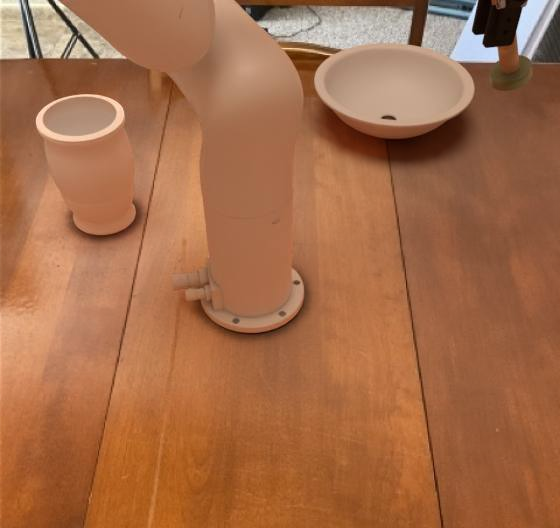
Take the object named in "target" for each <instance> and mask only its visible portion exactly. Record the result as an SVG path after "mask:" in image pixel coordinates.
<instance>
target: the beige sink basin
mask: <svg viewBox="0 0 560 528" xmlns="http://www.w3.org/2000/svg"><path fill="white" fill-rule="evenodd" d="M313 86H314V90H315V92H316V94H317V96H318V98H319V99H320V100H321V101H322V103H324V105H326V107H327V108H329V109H331V110H332V111H333V113H334V114H335V115H336V116H337V117H338V118H339V119H340V120H341V121H342V122H344V124H346V125H347V126H349V127H350V128H352V129H353V130H355V131H358V132H360V133H362V134H364V135H368V136H371V137H375V138H380V139H387V140H388V139H389V140H401V139H402V140H403V139H410V138H415V137H418V136H422V135H424V134H428V133H429V132H432V131H434V130H435V129H437V128H439V127H440V126H442V125H443V124H444V123H446V122H447V121H449V120H451V119H453V118H455V117H457V116H459V115H460V114H461V113H463V112H464V111H465V110H466V109H467V108H468V107H469V106H470V105H471V103H472V101H473V99H474V96H475V82H474V80H473V77H472V75H471V74H470V73H469V71H468V70H467V69H466V68H465V67H464V66H463V65H462V64H461V63H460V62H458V61H457V60H455V59H453V58H452V57H450V56H447V55H445V54H444V53H441V52H439V51H437V50H433V49H431V48H427V47H422V46H418V45H413V44H407V43H398V42H397V43H396V42H378V43H377V42H376V43H368V44H367V43H366V44H361V45H357V46H356V45H355V46H352V47H348V48H346V49H343V50H340V51H338V52H336V53H334V54H332V55H330V56H329V57H328V58H326V59H325V60H323V61H322V63H321V64H319V66H318V67H317V69H316V71H315V73H314V78H313ZM384 117H392V118H394V119H386V118H384Z"/></svg>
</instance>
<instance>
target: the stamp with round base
mask: <svg viewBox="0 0 560 528" xmlns="http://www.w3.org/2000/svg"><path fill="white" fill-rule="evenodd" d="M491 1H492V5H496V0H491ZM496 48H497V55H498V60H497V61H496V62H495V63H493V64H492V66H491V67H490V68H489V72H488V76H489V77H488V78H489V83H490V85H491V88H493V89H495V90H497V91H502V92H509V91H515V90H517V89H519V88H521V87H523V86H524V85H526V84H527V83H528V82H529V81H530V80H531V78H532V76H533V66H532V65H533V63H532V61H531V59H530V58H529V57H527V56H525V55H521V54H520V53H519V46H518V36H517V33H516V35H515V38H514V42H513V43H512V44H511V45H509V46H501V47H496Z"/></svg>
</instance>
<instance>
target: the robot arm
mask: <svg viewBox="0 0 560 528" xmlns="http://www.w3.org/2000/svg"><path fill="white" fill-rule="evenodd" d="M57 2H59V3H61V4H62V5H63V6H64V7H65V8H67V9H68V10H69V11H70V12H72V13H73V14H74V15H75V16H76V17H78V18H79V19H80V20H81V21H82V22H84V23H85V24H86V25H88V26H89V28H91V29H92V30H94V31H95V32H96V33H97V34H98V35H100V37H102V38H103V39H104V40H105V41H106V42H107V43H108V44H109V45H110V46H111V47H112V48H113V49H115V50H116V51H117V52H118V53H119V54H120V55H121V56H123V57H124V58H126V59H127V60H129V61H131V62H132V63H134V64H135V65H138V66H140V67H142V68H145V69H147V70H151V71H155V72H158V73H165V74H167V76H168V77H169V78H170V79H171V80H172V81H173V82H174V84H175V85H176V86H177V88H178V89H179V90H180V92H181V93H182V95H183V96H184V98H185V99H186V101H187V103H188V104H189V105H190V107H191V108H192V110H193V111H194V112H195V114H196V117H197V119H198V122H199V125H200V130H201V145H200V146H201V147H200V153H199V161H198V162H199V169H198V170H199V181H200V182H199V183H200V191H201V197H202V206H203V215H204V224H205V225H204V226H205V232H206V233H205V234H206V242H207V250H208V251H207V253H208V257H206V258H205V259H204V261H205V266H204V267H198V268H197V271H194V272H193V271H192V272H179V273H173V274H171V279H172V280H171V281H172V285H173V286H172V287H173V291H181V290H184V295H185V301H186V302H194V301H197V300H200V302H201V306H202V309H203V311H204V312H205V314H206V315H207V316H208V317H209V318H210V320H211V321H213V322H214V323H215V324H217V325H218V326H220V327H223V328H225V329H226V330H231V331H232V332H233V331H234V332H236V333H237V332H238V333H243V334H244V333H246V334H248V333H249V334H253V333H254V334H256V333H263V332H264V333H265V332H269V331H271V330H276V329H278V328H280V327H282V326H284V325H286V324H287V323H289V322H291V320H292V319H294V318H295V316H296V315H297V314H298V313H299V312H300V310H301V308H302V306H303V303H304V299H305V286H304V282H303V279H302V277H301V275H300V274H299V273H298V272H297V270H296V269H295V268H293V215H294V214H293V213H294V211H293V210H294V164H295V163H294V161H295V151H296V143H297V137H298V133H299V129H300V125H301V122H302V121H301V120H302V115H303V110H304V90H303V89H304V88H303V85H302V81H301V78H300V74H299V72H298V70H297V67H296V66H295V64H294V63H293V61H292V59H291V58H290V57H289V55H288V54H287V52H286V51H285V50H284V49H283V47H282V46H281V45H280V44H279V43H278V42H277V41H276V40H275V39H274V38H273V37H272V36H271V34H270V33H269V32H267V31H266V30H265V29H264V27H262V26H261V25H260V24H259V23H258V22H256V20H255V19H253V17H251V15H250V14H249V13H247V11H245V9H243V7H242V6H241V5H240V4H239V3H238V2H237V1H236V0H57ZM528 2H529V0H496V5H492V1H491V0H477V3H476V8H475V13H474V18H473V23H472V26H471V32H472V34H473V35H474V36H482V35H483V38H482V43H481V44H482V45H483V47H484V48H485V49H489V48H490V49H491V48H497V47H501V46H509V45H511V44H512V43H513V42H514V38H515V35H516V34H517V31H518V27H519V23H520V20H521V15H522V12H523V8H525V7H526V6H527V5H528ZM194 287H200V288H194ZM190 288H191V289H190Z"/></svg>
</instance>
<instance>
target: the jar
mask: <svg viewBox="0 0 560 528" xmlns="http://www.w3.org/2000/svg"><path fill="white" fill-rule="evenodd" d="M125 122H126V115H125V110H124V108H123V106H122V105H121V104H120V102H118V101H116V100H115V99H113V98H110V97H108V96H105V95H101V94H92V93H91V94H90V93H83V94H82V93H81V94H73V95H68V96H64V97H60V98H59V99H55V100H54V101H52V102H50V103H48V104H46V105H45V106H43V108H42V109H40V111H39V112H38V113H37V115H36V118H35V125H36V130H37V132H38V134H39V135H40V137H41V138H42V139H43V147H44V153H45V159H46V162H47V166H48V170H49V173H50V175H51V177H52V179H53V182H54V184H55V185H56V187H57V189H58V190H59V193H60V195H61V198H62V199H63V201H64V203H65V204H66V206H67V207H68V208H69V209H70V212H72V213H73V214H72V219H73V220H72V221H73V223H74V225H75V227H77V229H79V230H80V231H81V232H83V233H86V234H89V235H94V236H108V235H113V234H116V233H119V232H122V231H124V230H125V229H127V228H128V227H130V225H131V224H132V223H133V222H134V220H135V219H136V215H137V211H136V207H135V205H134V203H133V201H134V197H135V161H134V155H133V150H132V146H131V143H130V139H129V136H128V133H127V130H126V128H125V127H124V126H125Z"/></svg>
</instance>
